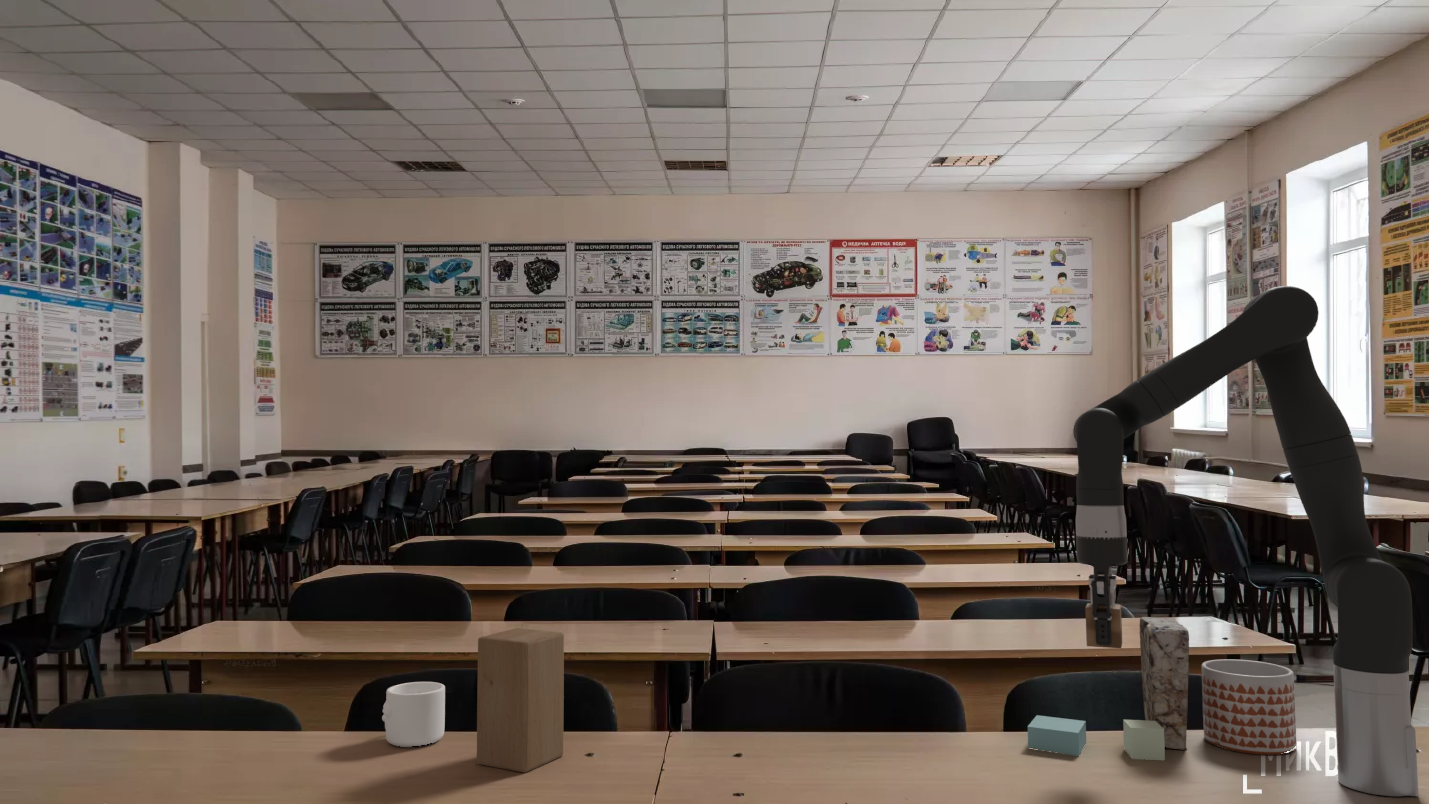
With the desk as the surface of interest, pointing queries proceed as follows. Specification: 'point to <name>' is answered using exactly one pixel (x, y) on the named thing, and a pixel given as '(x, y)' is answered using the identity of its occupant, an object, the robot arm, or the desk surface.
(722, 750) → the desk surface
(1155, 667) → the stone block
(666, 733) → the desk surface
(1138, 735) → the sage block
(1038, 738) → the teal pedestal
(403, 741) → the mug
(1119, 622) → the walnut block
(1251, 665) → the planter
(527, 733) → the wooden block
